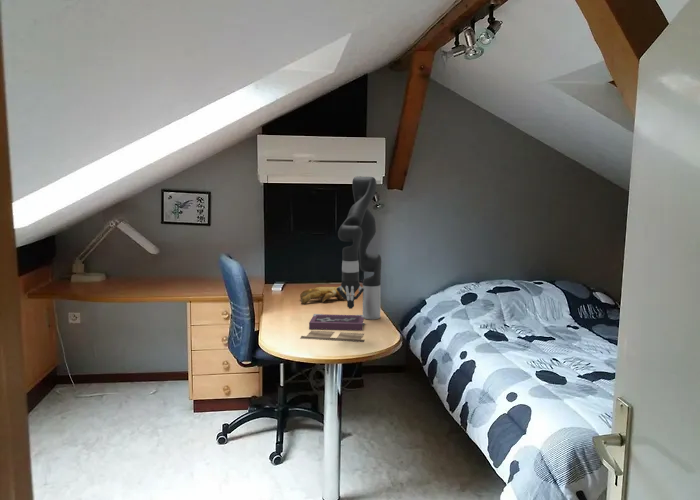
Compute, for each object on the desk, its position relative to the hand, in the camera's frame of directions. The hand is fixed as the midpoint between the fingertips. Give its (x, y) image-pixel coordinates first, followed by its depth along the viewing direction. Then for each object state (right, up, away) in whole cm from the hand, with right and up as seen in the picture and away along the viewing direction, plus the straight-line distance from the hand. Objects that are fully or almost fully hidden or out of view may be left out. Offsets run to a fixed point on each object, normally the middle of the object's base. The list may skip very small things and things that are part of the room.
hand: (350, 308), depth 244 cm
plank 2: (0, -14, +1) cm, 14 cm away
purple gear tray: (-6, -12, +20) cm, 24 cm away
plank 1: (-14, -13, +4) cm, 20 cm away
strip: (-8, -15, -4) cm, 17 cm away
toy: (-16, -4, +77) cm, 79 cm away
